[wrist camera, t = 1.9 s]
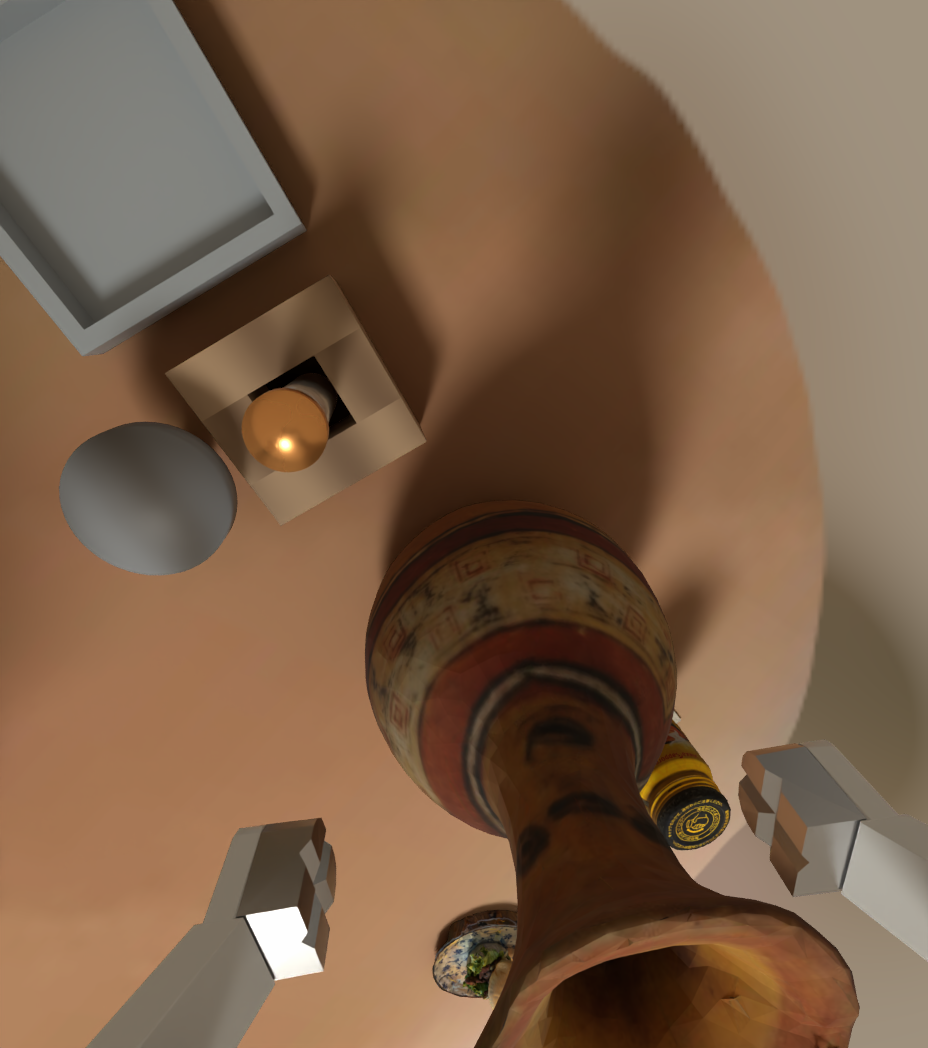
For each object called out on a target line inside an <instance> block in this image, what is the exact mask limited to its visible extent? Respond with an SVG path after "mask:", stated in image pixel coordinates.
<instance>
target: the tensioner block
mask: <svg viewBox="0 0 928 1048" xmlns="http://www.w3.org/2000/svg"><path fill="white" fill-rule="evenodd" d="M312 356H315V358H316V359H317V361H318V363H319V364H320V366H321V367H322V369H323V370H324V372H325V374H326V375H327V377H328V378H329V380H330V382H331V383H332V385H333V386H334V388H335V389H336V391H337V393H338V394H339V396H340V397H341V399H342V401H343V402H344V404H345V405H346V407H347V408H348V410H349V412H350V413H351V415H349V416H347V417H346V418H344V419H342V420H341V421H339V422H337V423H335V424H334V425H332V426H330V427H329V437H328V441H327V444H326V447H325V449H324V451H323V453H322V455H321V456H320V458H319V459H318V460H317V461H316V462H315V463H314V464H313V465H311V466H310V467H308V468H306V469H303V470H300V471H296V472H280V471H276V470H272V469H270V468H268V467H266V466H264V465H262V464H261V463H260V462H258V461H257V460H256V459H255V458H254V457H253V456H252V455H251V453H250V452H249V450H248V449H247V447H246V445H245V443H244V440H243V436H242V420H243V416H244V414H245V411H246V410H247V408H248V406H249V405H250V404H251V403H252V402H253V401H254V400H255V399H256V398H258V397H259V396H261V395H262V394H264V393H266V392H268V391H269V389H268V388H267V387H266V385H265V384H266V383H268V382H270V381H271V380H273V379H275V378H277V377H278V376H280V375H282V374H283V373H285V372H287V371H288V370H290V369H292V368H293V367H295V366H297V365H298V364H300V363H302V362H304V361H305V360H307V359H309V358H310V357H312ZM165 375H166V376H167V377H168V379H169V380H170V381H171V382H172V384H173V385H174V386H175V388H176V389H177V390H178V392H179V393H180V394H181V396H182V397H183V398H184V400H185V401H186V402H187V403H188V405H189V406H190V407H191V409H192V410H193V411H194V413H195V414H196V415H197V417H198V418H199V419H200V420H201V422H202V423H203V424H204V426H205V427H206V428H207V430H208V431H209V432H210V434H211V435H212V436H213V438H214V439H215V440H216V441H217V443H218V444H219V445H220V447H221V448H222V449H223V451H224V452H225V453H226V455H227V456H228V457H229V459H230V460H231V461H232V462H233V464H234V465H235V466H236V468H237V469H238V470H239V472H240V473H241V474H242V476H243V477H244V478H245V480H246V481H247V482H248V483H249V485H250V486H251V487H252V489H253V490H254V491H255V493H256V494H257V495H258V497H259V498H260V499H261V500H262V502H263V503H264V504H265V506H266V507H267V508H268V510H269V511H270V512H271V514H272V515H273V516H274V518H275V519H276V520H277V521H278V523H279V524H280V525H283V524H285V523H287V522H288V521H290V520H292V519H293V518H295V517H297V516H299V515H300V514H302V513H304V512H306V511H307V510H309V509H311V508H313V507H314V506H316V505H318V504H319V503H321V502H323V501H325V500H326V499H328V498H330V497H332V496H333V495H335V494H337V493H338V492H340V491H342V490H344V489H345V488H347V487H349V486H351V485H352V484H354V483H356V482H358V481H359V480H361V479H363V478H364V477H366V476H368V475H370V474H371V473H373V472H375V471H377V470H378V469H380V468H382V467H384V466H385V465H387V464H389V463H390V462H392V461H394V460H396V459H397V458H399V457H401V456H403V455H404V454H406V453H408V452H410V451H411V450H413V449H415V448H416V447H418V446H420V445H422V444H423V443H425V442H427V441H426V438H425V436H424V434H423V431H422V429H421V427H420V425H419V423H418V421H417V420H416V418H415V416H414V414H413V413H412V411H411V409H410V407H409V406H408V404H407V402H406V401H405V399H404V397H403V395H402V394H401V392H400V390H399V389H398V387H397V385H396V383H395V382H394V380H393V378H392V376H391V375H390V373H389V371H388V370H387V368H386V366H385V364H384V363H383V361H382V359H381V357H380V356H379V354H378V352H377V351H376V349H375V347H374V345H373V344H372V342H371V340H370V339H369V337H368V335H367V333H366V332H365V330H364V328H363V326H362V325H361V323H360V321H359V320H358V318H357V316H356V314H355V313H354V311H353V309H352V307H351V306H350V304H349V302H348V301H347V299H346V297H345V295H344V294H343V292H342V290H341V289H340V287H339V285H338V283H337V282H336V280H335V279H334V278H333V277H332V276H331V275H328V276H326V277H325V278H323V279H321V280H320V281H318V282H316V283H315V284H313V285H311V286H310V287H308V288H306V289H305V290H303V291H301V292H300V293H298V294H296V295H295V296H293V297H291V298H290V299H288V300H286V301H285V302H283V303H281V304H280V305H278V306H276V307H275V308H273V309H271V310H270V311H268V312H266V313H265V314H263V315H261V316H260V317H258V318H256V319H255V320H253V321H251V322H250V323H248V324H246V325H245V326H243V327H241V328H240V329H238V330H236V331H234V332H233V333H231V334H229V335H228V336H226V337H224V338H223V339H221V340H219V341H218V342H216V343H214V344H213V345H211V346H209V347H208V348H206V349H204V350H203V351H201V352H199V353H198V354H196V355H194V356H193V357H191V358H189V359H188V360H186V361H184V362H183V363H181V364H179V365H178V366H176V367H174V368H173V369H171V370H169V371H168V372H166V373H165ZM59 493H60V502H61V508H62V510H63V513H64V516H65V519H66V521H67V523H68V525H69V527H70V528H71V530H72V531H73V533H74V534H75V536H76V537H77V538H78V539H79V540H80V541H81V543H82V544H83V545H84V546H86V547H87V548H88V549H89V550H90V551H91V552H92V553H94V554H95V555H96V556H98V557H99V558H101V559H102V560H104V561H106V562H108V563H109V564H112V565H114V566H116V567H118V568H121V569H124V570H127V571H130V572H134V573H139V574H146V575H169V574H175V573H179V572H183V571H186V570H189V569H191V568H193V567H195V566H197V565H199V564H201V563H202V562H204V561H205V560H207V559H208V558H209V557H210V556H211V555H212V554H213V553H214V552H215V551H216V550H217V549H218V547H219V546H220V545H221V543H222V542H223V540H224V539H225V537H226V536H227V534H228V533H229V531H230V529H231V528H232V525H233V523H234V520H235V517H236V512H237V492H236V487H235V484H234V481H233V478H232V475H231V473H230V472H229V470H228V468H227V466H226V465H225V463H224V462H223V460H222V459H221V458H220V456H219V455H218V454H217V453H216V452H215V451H214V450H213V449H212V448H211V447H210V446H209V445H208V444H206V443H205V442H204V441H202V440H201V439H199V438H198V437H196V436H195V435H193V434H191V433H189V432H187V431H185V430H182V429H180V428H178V427H174V426H171V425H168V424H162V423H157V422H134V423H129V424H124V425H121V426H118V427H115V428H112V429H110V430H107V431H105V432H103V433H100V434H98V435H96V436H94V437H92V438H90V439H88V440H87V441H86V442H84V443H83V444H81V445H80V446H79V447H78V448H77V449H76V450H75V451H74V452H73V454H72V455H71V456H70V458H69V459H68V461H67V463H66V465H65V467H64V469H63V472H62V475H61V479H60V486H59Z"/></svg>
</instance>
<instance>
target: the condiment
mask: <svg viewBox="0 0 928 1048" xmlns="http://www.w3.org/2000/svg"><path fill="white" fill-rule="evenodd" d="M679 721H681V719H680V718H679V717H678V715H677V714H676V713H675V712H674V713H673V718H672V723H671V727H670V731H669V734H668V737H667V739H666V742H665V745H664V747H663V750H662V753H661V755H660V757H659V759H658V761H657V763H656V765H655V767H654V769H653V772H652V774H651V776H650V778H649V780H648V782H647V783H646V785H645V786H644V788H643V789H642V790H641V792H640V795H641V798H642V800H643V802H644V804H645V807H646V809H647V811H648V814H649V816H650V817H651V818H652V820H653V821H654V823H655V824H656V825H657V827H658V828H659V830H660V831H661V833H662V834H663V836H664V838H665V839H666V841H667V843H668V844H669V846H671V847H672V848H674V849H677V850H692V849H698V848H700V847H703V846H705V845H707V844H710V843H711V842H712V841H714V840H715V839H716V838H717V837H718V836H720V835H721V834H722V833H723V831H724V830H725V828H726V827H727V825H728V823H729V820H730V811H731V809H730V806H729V804H728V802H727V801H728V800H726V798H725V797H724V796H723V795H722V794H721V792H720V791H719V789H718V787H717V785H716V784H715V782H714V781H713V778H712V774H711V770H710V768H709V766H708V765H707V764H706V762H705V761H704V760H703V759H702V758H701V757H700V755H699V753H698V752H697V751H696V749H695V748H694V747H693V745H691V743H690V742H689V740H688V738H687V737H686V736H685V734H684V733H683V732H682V731H681V729H680V727H679V726H678V725H677V724H676V723H678V722H679Z"/></svg>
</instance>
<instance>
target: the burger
mask: <svg viewBox="0 0 928 1048" xmlns="http://www.w3.org/2000/svg"><path fill="white" fill-rule="evenodd" d="M517 914H518V913H515V912H511V911H503V910H494V911H485V912H480V913H476V914H473V916H467V917H465V918H466V919H465V918H464V919H463V920H461V921H457V922H455V923H453V924H452V925H451V926H450V931H449V936H448V941H447V942H446V943H445V944H444V945H443V947H441V948H440V950H439V951H438V952H437V953H436V957H435V962H434V965H433V978H434V979H435V982H436V983H437V985H438V986H439V987H440V988H441V989H442V990H444V991H446V992H449V993H452V994H454V995H457V996H459V997H469V998H483V999H485V1000H486V999H489V1002H490V1005H491V1007H492V1009H493V1010H494V1008H495V1006H496V1003H497V1001H498V999H499V997H500V995H501V992H502V990H503V988H504V985H505V983H506V980H507V977H508V974H509V971H510V968H511V965H512V960H513V955H514V950H515V944H516V939H517Z"/></svg>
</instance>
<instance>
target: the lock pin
mask: <svg viewBox="0 0 928 1048" xmlns="http://www.w3.org/2000/svg"><path fill="white" fill-rule="evenodd" d="M336 404H337V393H336V390H335V388H334V386H333V385H332V383H331V382H330V381H329V380H328V379H327V378H326V377H324V376H322V375H320V374H316V373H306V374H302V375H300V376H299V377H297V378H296V379H294V380H293V381H292V382H290V383H289V384H288V385H286V386H285V387H284V388H277V389H273V390H270V391H268V392H266V393H264V394H262V395H261V396H259V397H258V398H256V399H255V400H254V401H253V402H252V403H251V404H250V405H249V406H248V408H247V410H246V411H245V414H244V416H243V420H242V436H243V440H244V443H245V445H246V447H247V449H248V450H249V452H250V453H251V455H252V456H253V457H254V458H255V459H256V460H257V461H258V462H260V463H261V464H262V465H264V466H266V467H268V468H270V469H272V470H276V471H280V472H296V471H300V470H303V469H306V468H308V467H310V466H311V465H313V464H314V463H315V462H316V461H317V460H318V459H319V458H320V456H321V455H322V453H323V451H324V449H325V447H326V444H327V441H328V437H329V424H328V423H329V421H330V419H331V416H332V414H333V412H334V410H335V407H336Z"/></svg>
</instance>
